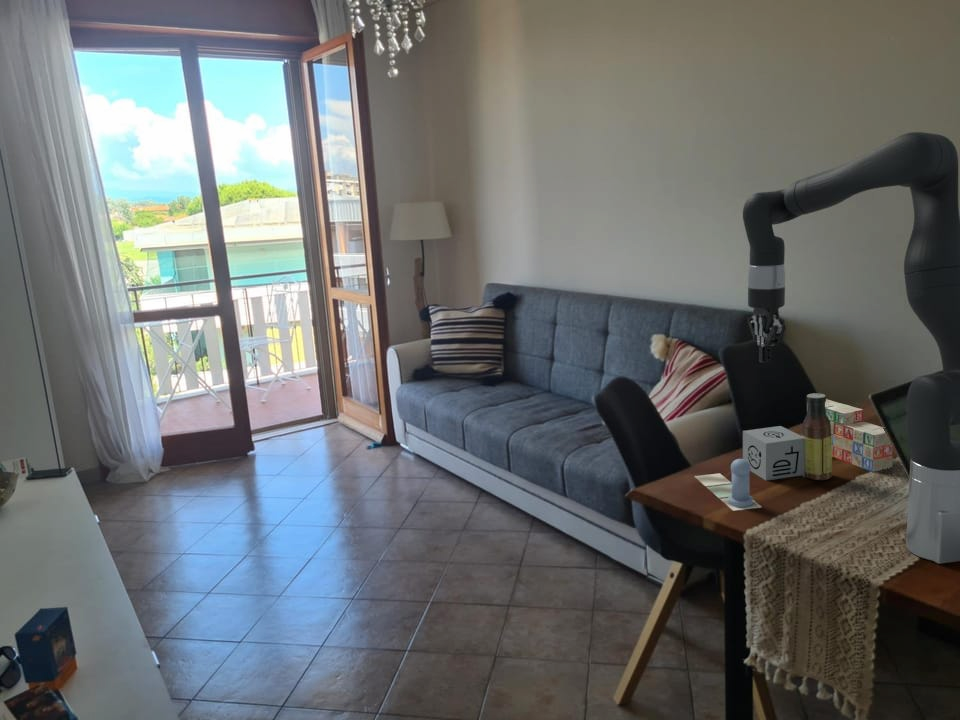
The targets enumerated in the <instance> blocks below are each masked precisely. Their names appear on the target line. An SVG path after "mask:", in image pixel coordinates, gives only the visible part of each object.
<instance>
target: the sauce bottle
mask: <svg viewBox="0 0 960 720" xmlns="http://www.w3.org/2000/svg"><path fill="white" fill-rule="evenodd" d="M826 399H827V395H826V394H824V393H815V392H813V393H809V394H807V395H806V404H807V403H808V410H807V409H806V416H805V418H804V420H803V422H802V431H801V436H803V437H804V438H805V478H807V479H810V480H813V481H826V480H830V479H831V478H832V473H833V472H832V471H833V457H832V434H831V424H830V420H829V419H828V417H827V415H826V411H825V402H826Z"/></svg>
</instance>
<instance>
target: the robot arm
mask: <svg viewBox="0 0 960 720" xmlns="http://www.w3.org/2000/svg"><path fill="white" fill-rule="evenodd" d="M958 156H959V155H958V151H957V148H956V145H955V144H954V143H953V142H952V140H950V139H949V138H948V137H946V136H944V135H941V134H938V133H929V132H923V131H922V132H920V131H916V132H914V131H913V132H907V133H903V134H901V135H900V136H898V137H896V138H893V139H891V140H889V141H888V142H885V143H884V144H882V145H880V146H879V147H876V148H875V149H873V150H871V151H869V152H868V153H866V154H863V155H862V156H860V157H858V158H855V159H853V160H850V161H848V162H847V163H844V164H841V165H839V166H837V167H834V168H830V169H828V170H825V171H822V172H818V173H816V174H813V175H811V176H808V177H804V178H802V179H799V180H797V181H795V182H792V183H790V184H789V185H788V186H787V187H786V188H782V189H778V190H774V191H761V192H756V193H753V194H751V195H750V196H748V197H747V198H746V200H745V202H744V205H743V208H742V221H743V225H744V229H745V233H746V238H747V240H748V243H749V267H748V268H749V269H748V275H747V276H748V278H747V305H748V307H749V308H751V309H753V311H752V316H751V317H750V316H749V317H747V324H748V326H749V330H750V334H751V336H752V339H753V341H754V342H756V343H757V346H758V361H759V362H760V363H762V364H769V363H771V362H772V360H773V359H772V358H773V356H772V353H773V352H772V351H773V350H772V349H773V346H777V345H778V344H779V342H780V340H781V338H782V337H783V335H784V332H786V331H785V330H786V325H785V324H781V323H780V319H781V318H780V317H781V316H780V313H779V309H780V308H783V307H784V306H785V304H786V303H785V302H786V301H785V300H786V299H785V298H786V270H785V251H786V250H785V249H786V248H785V241H784V239H783V238H782V237H779V236H777V235H775V233H774V229H773V225H779V224H783V223H786V222H790V221H793V220H794V219H796V218H798V217H801V216H803V215H804V216H805V215H809V214H811V213H816V212H819V211H822V210H825V209H828V208H831V207H833V206H837V205H838V204H840V203H842V202H844V201H846V200H848V199H850V198H851V197H853V196H854V195H857V194H860V193H863V192H866V191H869V190H874V189H880V188H888V187H896V186H900V187H903V188H910V189H909V190H910V193H911V199H912V205H913V215H914V216H913V227H912V232H911V234H910V238H909V240H908V243H907V246H906V247H907V248H906V252H905V256H904V262H903V272H904V273H903V274H904V281H905V290H906V295H907V302H908V303H909V305H910V308H911V309H912V311H913V313H914V314H915V315H916V316H917V318H918V319H919V321H920V322H921V323H922V324H923V326H924V327H925V328H926V329H927V330H928V332H929V333H930V334H931V336H932V338H933V339H934V340H935V343H936V344H937V347H938V350H939V354H940V359H941V364H942V372H940V373H929V374H924V375H920V376H917V377H916V378H915V379H913V381H912V382H911V383H910V385H909V388H908V391H907V395H906V436H907V437H906V439H907V443H908V446H909V449H910V462H909V463H910V465H909V477H908V478H909V483H908V496H907V499H908V501H907V517H906V518H907V522H906V544H905V547H906V548H907V550H908V551H909V552H910V553H912V554H913V555H914V556H917V557H920V558H922V559H926V560H928V561H932V562H935V564H939V565H940V564H946V563H955V562H960V442H959V441H956V440H952V437H951V426H957V425H958V426H959V425H960V208H959V206H960V205H959V157H958Z"/></svg>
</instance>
